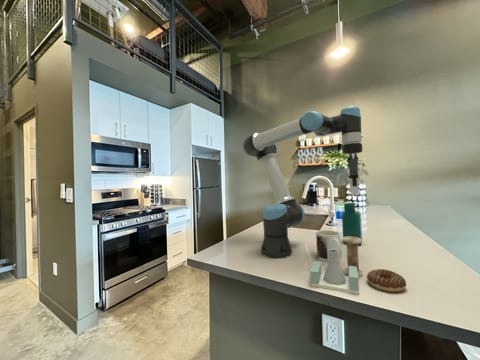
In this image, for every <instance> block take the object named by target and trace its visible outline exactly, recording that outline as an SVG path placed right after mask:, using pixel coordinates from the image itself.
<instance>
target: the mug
mask: <svg viewBox="0 0 480 360" xmlns="http://www.w3.org/2000/svg"><path fill="white" fill-rule="evenodd" d="M340 235H341V234H340V233H339V232H338V231H335V230H327V229H325V230H324V229H323V230H317V231H316V232H315V236H316V237H315V239H316V256H317V258H318V259H320V260H322V261H328V262H329V252H328V250H329V249H335V250H338V254H337V257H338V261H340V260H341V257H342V255H343V247H342V243H341V241H340V239H341V238H340V237H341V236H340Z"/></svg>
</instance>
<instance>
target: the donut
mask: <svg viewBox="0 0 480 360" xmlns="http://www.w3.org/2000/svg"><path fill="white" fill-rule="evenodd" d="M366 278H367V281H368V283H369V284H370V285H372V287H374V288H376V289H378V290H381V291H385V292H390V293H398V292H402V291H403V290H405V289H406V287H407V281H406V279H405V278H404V277H403V275H400V274H399V273H396V271H395V272H394V271H392V270H389V269H384V268H383V269H381V268H378V269H372V270H370V271H369V272H367V275H366Z"/></svg>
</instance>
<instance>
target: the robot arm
mask: <svg viewBox="0 0 480 360" xmlns="http://www.w3.org/2000/svg"><path fill="white" fill-rule="evenodd" d="M312 133H314V135H315V136H317V137H325V136H327V135H333V134H338V133H341V145H342V148H341V149H342V154H343V155H348V157H347V164H348V165H347V166H348V169H349V175H348V179H349V193H350V194H351V195H355V196H356V195H360V188H359V171H358V170H359V169H358V165H359V157H358V154H360V153H362V152H363V143H362V142H363V140H362V139H363V137H364V135H363V134H362V116H361V109H360V107H359V106H357V105H356V106H355V105H354V106H353V105H352V106H347V107H346V106H345V108H342V109H341V110H340V114H339V115H336V116H335V115H334V116H330V117H329V116H327V115H324V114H322V113H320V112H318V111H314V110H308V111H306V112H305V113H304V114H303V115H302V117H299V118H297V119H294V120H291V121H289V122H286V123H283V124H281V125H279V126H277V127H273V128H270V129H268V130H266V131H263V132H261V133H260V132H254V133H252V134H249V135H248V136H247V137H245V139H244V140H243V143H242V149H243V151H244V153H245V154H246V155H247V156H249V157H254V158H255V157H256V159H257V163H258V164H260V165H261V166H262V168H263V170H264V174H265V176H266V178H267V181H268V184H269V186H270V188H271V192H272V193H273V196H274V199H275V202H276V203H273V204H269V205H266V206H264V207H263V209H262V220H263V221H262V224H263V225H262V226H263V240H262V243H261V248H260V254H261V255H262V254H263V255H262V256H264V255H265V256H264V257H267V256H268V257H267V258H271V257H275V258H274V259H280V258H281V259H283V258H286V257H287V256H288V257H290V256H292V255H293V247H292V244H291V241H290V240H289V233H288V229H290V228H293V227H295V226H298V225H300V224H301V223H302V222H304V219H305V216H306V215H305V213H306V212H305V208H303V206H302V205H300V203H298V202H297V200H296V198H295V197H293V196H291V193H290V190H289V187H288V185H287V183H286V180H285V178H284V175H283V173H282V171H281V168H280V166H279V163H278V161H277V157H278V156H277V155H278V154H277V151H278V146H277V144H279V143H283V142H286V141H288V140H291V139H295V138H298V137H301V136H305V135H308V134H312ZM291 254H292V255H291ZM282 257H283V258H282ZM288 257H287V258H288Z"/></svg>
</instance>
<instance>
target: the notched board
mask: <svg viewBox="0 0 480 360" xmlns="http://www.w3.org/2000/svg"><path fill="white" fill-rule="evenodd" d="M312 263H313V264H312V265H311V269H310V286H311V287H315V288H319V289H325V290H326V289H327V290H332V291H338V292H343V293H350V294H356V295H360V287H359V284H360V283H359V282H360V281H359V279H360V278H359V277H358V272H357V267H355V266H349V276H345V279H346V282H345V283H344V284H333V283H328V282H327V281H325V280H324V279H323V278H324V274H325V272H324V273H323V272H322V262H321V261H313V262H312Z"/></svg>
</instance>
